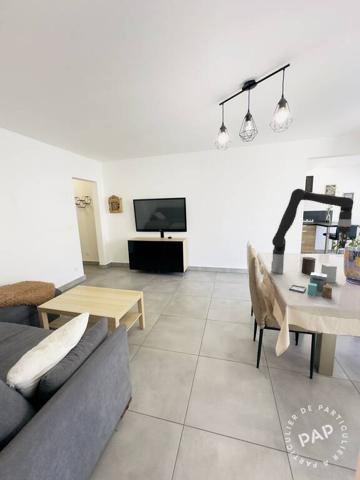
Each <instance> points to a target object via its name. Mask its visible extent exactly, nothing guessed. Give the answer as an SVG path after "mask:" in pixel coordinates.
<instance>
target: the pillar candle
mask: <svg viewBox="0 0 360 480" xmlns="http://www.w3.org/2000/svg"><path fill="white" fill-rule="evenodd" d="M301 261H302V262H301V264H302V265H301V273H302V274H304V275H311V273H312V272H314V273H316V272H315V271H316V258H315V257H310V256H303V257H302V260H301Z"/></svg>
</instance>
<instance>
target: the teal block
mask: <svg viewBox="0 0 360 480" xmlns="http://www.w3.org/2000/svg"><path fill="white" fill-rule="evenodd" d="M317 293H318V291H317V284H315V283H310V282H309V283H308V285H307V295H309V296H314V297H316V296H317Z"/></svg>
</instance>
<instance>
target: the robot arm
mask: <svg viewBox="0 0 360 480" xmlns="http://www.w3.org/2000/svg"><path fill="white" fill-rule="evenodd" d="M301 201H310V202H316V203H320V204H323V205H330V206H336V207H340V208H339V209H340V210H339V211H340V212H339V213H338V221H337V226H336V227H337V228H336V232H337V233H339V235H338V240H339V243H338V246H339V247H340V248H341V249H345V248H346V244H347V243H348V242H347V241H348V234H347V233H351V229H352V217H353V212H352V211H353V208H354V200H353V199H352V197H347V196H336V195H333V194H326V193H317V192H316V193H315V192H310V191H307V190H305V189H302V188H296V189H294V190H293V191H292V192H291V195H290V198H289V202H288V204H287V206H286V209H285V211H284V213H283V215H282V217H281V220H280V223H279V225H278V228H277V231H276V233H275V234H274V235H273V236H274V237H273V238H272V241H271V243H272V245H273V250H272V258H271V259H272V261H271V267H270V268H271V269H270V272H272V273H275V274H283V273H284V261H285V251H286V243H287V242H286V238H285V237H286V234H287V233H288V231H289V230H290V228H291V227H292V226H293V223H294V221H295V219H296V216H297V212H298V211H297V210H298V207H299V205H300V203H301Z"/></svg>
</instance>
